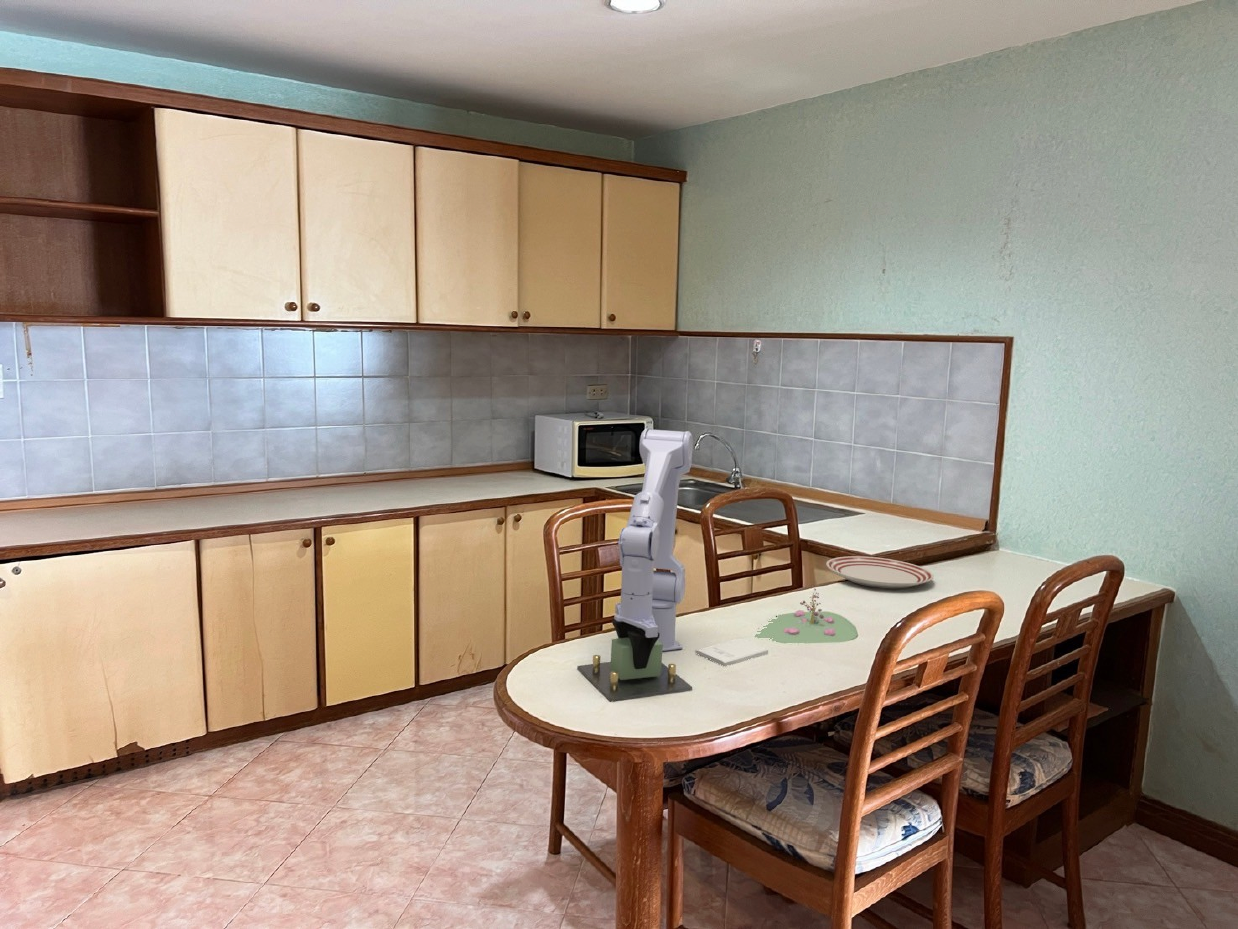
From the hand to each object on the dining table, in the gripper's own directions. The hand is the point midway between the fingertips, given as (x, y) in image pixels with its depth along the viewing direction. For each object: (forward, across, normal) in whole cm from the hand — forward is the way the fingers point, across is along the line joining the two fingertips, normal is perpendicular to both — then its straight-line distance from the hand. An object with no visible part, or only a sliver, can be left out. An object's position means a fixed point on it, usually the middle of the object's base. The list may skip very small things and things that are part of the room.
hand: (634, 662), depth 168 cm
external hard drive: (+4, -6, +24) cm, 25 cm away
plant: (+4, -14, +47) cm, 49 cm away
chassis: (+3, 0, 0) cm, 3 cm away
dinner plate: (+4, -43, +91) cm, 100 cm away
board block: (+2, 0, 0) cm, 2 cm away
